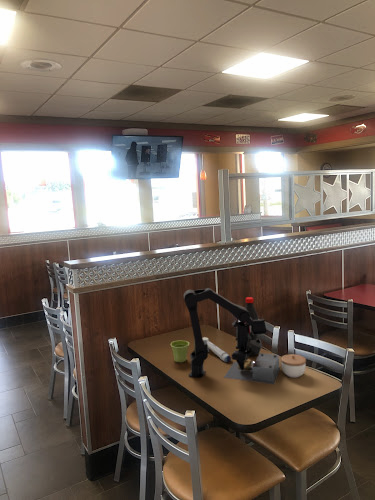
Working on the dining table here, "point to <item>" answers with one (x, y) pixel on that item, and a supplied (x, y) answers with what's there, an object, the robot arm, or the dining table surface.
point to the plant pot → (180, 350)
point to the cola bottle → (254, 316)
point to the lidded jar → (293, 365)
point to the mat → (243, 374)
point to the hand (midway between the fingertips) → (243, 367)
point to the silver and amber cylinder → (247, 365)
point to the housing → (265, 367)
